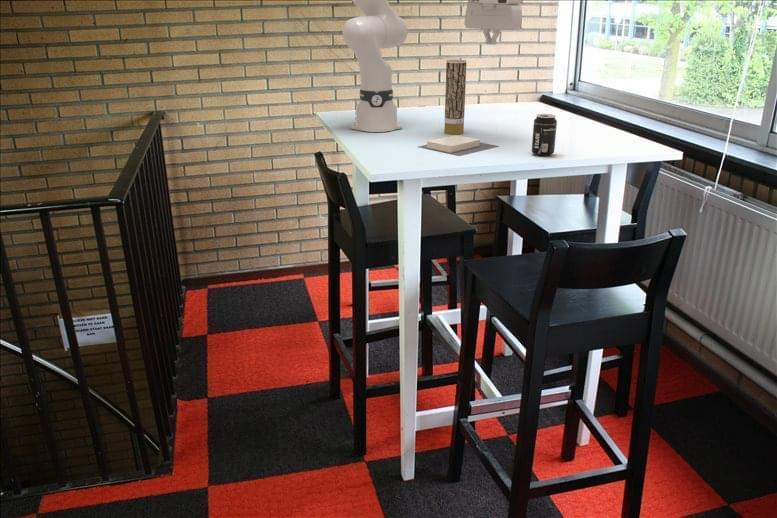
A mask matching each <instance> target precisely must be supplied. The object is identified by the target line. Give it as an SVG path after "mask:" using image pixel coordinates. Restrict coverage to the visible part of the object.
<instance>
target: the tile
mask: <svg viewBox="0 0 777 518" xmlns="http://www.w3.org/2000/svg"><path fill="white" fill-rule="evenodd" d="M480 142H481V139H479V138H472V137H468V136H462V135H449V136H445V137H441V138H436V139H432V140H428V141H426V145H427V148H428V149H432V150H431V151H433V150H437V151H441V152H440V153H442V152H446V153H455V152H459V151H463V150H467V149H471V148H476V147H479V146H480ZM428 149H427V150H428ZM437 151H436V152H437ZM446 153H445V154H446Z"/></svg>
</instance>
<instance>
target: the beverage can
mask: <svg viewBox="0 0 777 518" xmlns="http://www.w3.org/2000/svg"><path fill="white" fill-rule="evenodd" d="M557 126H558V121H557V119H556V115H555V114H551V113H538V114H536V118H534V121H533V125H532V127H533V128H532V139H531V140H532V141H531V153H532V154H533V155H534V156H536V155H538V157H550V156H551V155H553V154H554V153H555V147H556V146H555V145H556V137H557V136H556V135H557Z"/></svg>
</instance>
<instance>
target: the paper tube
mask: <svg viewBox="0 0 777 518" xmlns="http://www.w3.org/2000/svg"><path fill="white" fill-rule="evenodd" d="M445 65H446V67H445V69H446V71H445V91H444V92H445V96H444V97H445V99H444V127H443V128H444V129H443V130H444V134H445V135H449V136H455V135H458V136H461V135H463V134H464V129H465V106H466V105H465V103H466V82H467V81H466V80H467V59H446V64H445Z"/></svg>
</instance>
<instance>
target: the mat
mask: <svg viewBox="0 0 777 518" xmlns="http://www.w3.org/2000/svg"><path fill="white" fill-rule="evenodd" d="M499 147H500V145H495V144H491V143H486V142H481V141H480V146H479V147H476V148H471V149H467V150H463V151H459V152H455V153H446V152H441V151H437V150H432V149H428V148H427V144H423V145H419V146H417V148H418V149H419V148H420V149H425V150H429V151H434V152H438V153H443V154H447V155H451V156H456V157H462V156H465V155H470V154H474V153H479V152H481V151H486V150H490V149H494V148H499Z"/></svg>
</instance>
